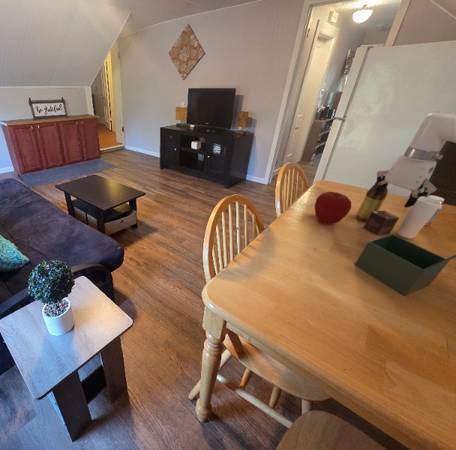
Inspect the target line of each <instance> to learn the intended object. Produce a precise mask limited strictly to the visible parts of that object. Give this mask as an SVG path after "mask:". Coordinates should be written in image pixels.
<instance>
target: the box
mask: <svg viewBox="0 0 456 450" xmlns="http://www.w3.org/2000/svg"><path fill="white" fill-rule="evenodd" d="M399 219H400V217H398V216H397V215H395V214H392V213H390V212H389V211H387V210H379V211H374V212H371V214H370V216H369V218H368V220H367V221H365V224H364V225H363V228H364V229H366V230H368V231H369V232H370V233H373V234H374V235H376V236H382V235H391V232H392V231H393V229H394V228H395V226H396V224H397V222H398V221H399Z"/></svg>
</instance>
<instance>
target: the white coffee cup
mask: <svg viewBox="0 0 456 450" xmlns="http://www.w3.org/2000/svg"><path fill="white" fill-rule="evenodd" d="M440 205H442V204H441V202H439V201H438V200H435V199H432V198H428V196H422V197H419V198H418V200H417V201H416V203H415V204H414V205H413V206H411V207H407V210H406V211H405V212H406V213H405V215H404V217H403V219H402V221H401V223H400V225H399V226H398V228H397V230H396V234H397V236H399V237H401V238H403V239H404V238H405V239H411V240H412V239H415V238H416V236H417V235H418V234H419V232H420V231H421V230H422V229H423V228H424V227H425V226H426V225H425V224H426V223H427V222H428V221H429V220H430V218H431V217H432V216H433V215H434V214H435V212H436V211H437V210H438V208H439V207H440Z"/></svg>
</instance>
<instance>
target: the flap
mask: <svg viewBox="0 0 456 450" xmlns="http://www.w3.org/2000/svg"><path fill="white" fill-rule="evenodd" d="M455 259H456V254H454V255H452V256H449V257H447V258H445V260H443V261H441V262H438V263H436V264H434V265H432V266H430V267H427V268H426V269H430V268H432V267H435V266H437V265H440V264H442V263H445V262H447V261H449V262H450V261H452V260H455Z"/></svg>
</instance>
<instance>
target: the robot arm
mask: <svg viewBox="0 0 456 450" xmlns="http://www.w3.org/2000/svg"><path fill="white" fill-rule="evenodd" d="M446 142H451V143H455V144H456V113H455V114H454V113H449V112H432V113H431V112H430V113H429V114H427V115H426V116H425V117H424V119H423V121H422V122H421V124H420V125H419V127H418V129H417V131H416V133H415V135H414V136H413V138H412V140H411V141H410V143H409V145H408V147H407V149H406V150H405V152H404V154H401V155H400V156H399V157H398V158H397V159H396V161H394V163H393V164H392V166H391V167H390V168H389V169H385V170H384V169H383V170H377V172H376V181H378V185H379V186H378V188H377V190H376V194H375V196H379V195H382V194H383V192H384V190H385V188H386V187H387V188H388V186H387V185H386V184H387V183H388V184H390V185H394V186H397V187H399V188H401V189H405V190H408V191H410V192H411V196H409V198H408V199H407V201H406V202H405V203H404V205H403V207H404V208H407V209H408V208H409V207H411V206H413V205H414V204H415V203H416V201H417V200H418V198H419V197H426V196H430V195H431V194H432V193H434V192H436V191H437V190H438V188H437V187H436V185H434V184H433V183H432V182H431V181H430V179H431V177H432V175H433V172H434V170H435V168H436V166H437V161H436V160H442V159H443V157H444V154H441V150H442V148H444V145H445V144H446ZM383 174H387V175H386V177H385V180H384V178H383ZM424 188H426V190H425V191H423V192H422V190H423V189H424Z"/></svg>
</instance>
